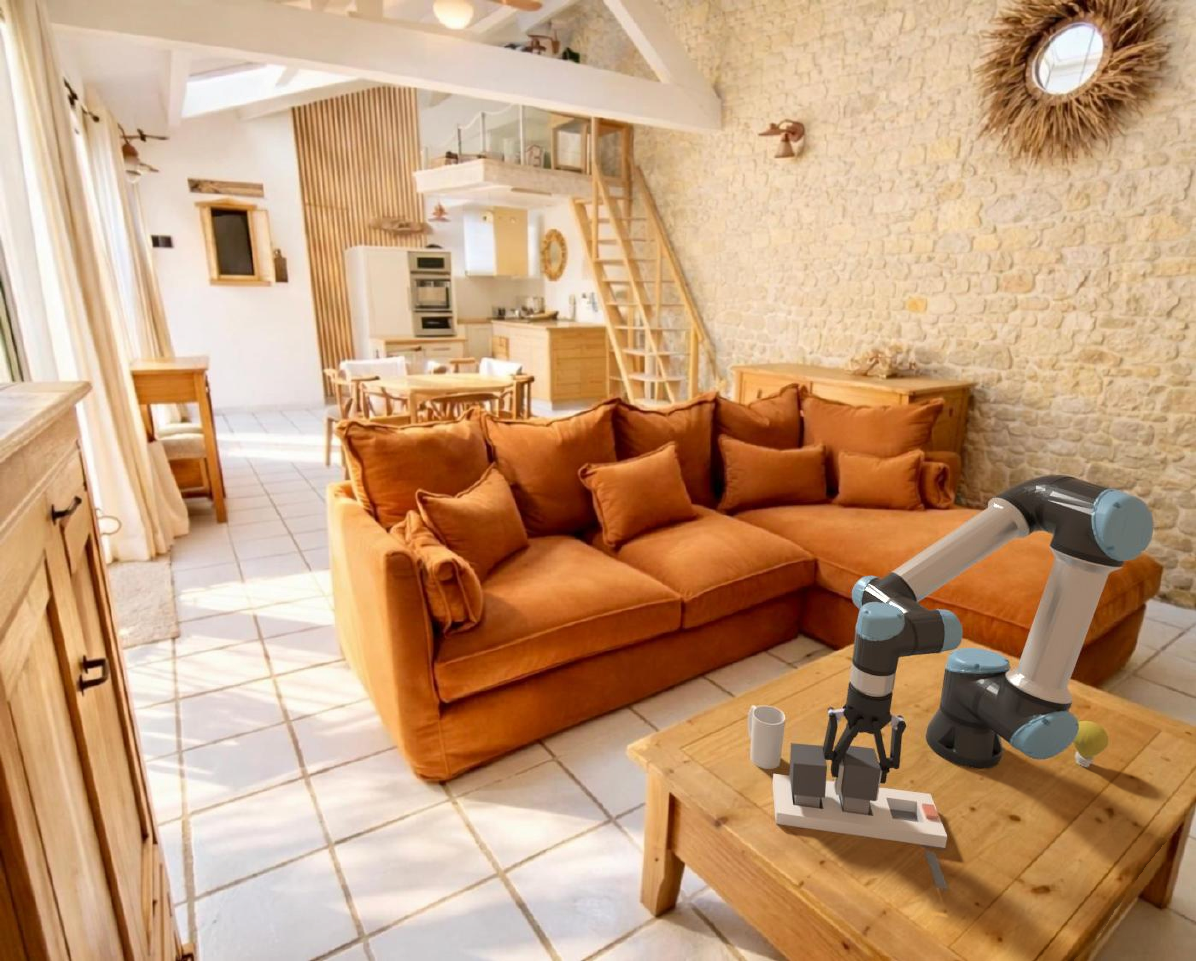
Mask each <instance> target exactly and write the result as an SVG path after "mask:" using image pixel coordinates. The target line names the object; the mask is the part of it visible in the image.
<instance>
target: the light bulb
mask: <svg viewBox="0 0 1196 961" xmlns="http://www.w3.org/2000/svg"><path fill="white" fill-rule="evenodd" d="M1078 723H1079V730H1078V734H1077V736H1076V738H1075V739H1074V741H1073V742H1072V744H1073V745H1074V748H1075V749H1076V751H1075V754H1074V758H1075V759H1076V764H1077V763H1078V764H1077V765H1079V766H1080V765H1081V766H1080V767H1083V766H1084V768H1089V767H1090V765H1091V764H1093V763H1094V757H1095V756H1097V755H1099V754H1100V753H1102V752H1103V751H1104V750H1106V749H1107V747H1108V745H1109V736H1108V733H1107V732H1106V730H1105V729H1104V728H1103V727H1102V726H1101V725H1099V724H1098V723H1096V722H1094V721H1090V720H1082V721H1078Z"/></svg>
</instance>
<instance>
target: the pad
mask: <svg viewBox="0 0 1196 961" xmlns="http://www.w3.org/2000/svg"><path fill="white" fill-rule="evenodd" d="M923 852H924V855H925V859H926V860H927V863H928V866H929V869H930V873H931V875H932V878H933V881H934V883H935V887H936V888H939V889H944V890H948V889H949V887H948V884H947V881H946V880H945V877H944V873H943V872H942V871H943V870H942V868H941V865H940V862H939V860H938V857H937V855H936V852H935V851H928V850H924V851H923Z"/></svg>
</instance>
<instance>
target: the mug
mask: <svg viewBox="0 0 1196 961" xmlns="http://www.w3.org/2000/svg"><path fill="white" fill-rule="evenodd" d="M785 724H786V715H785V713H784V712H783V711H782V710H781V709H780V708H779V707H775V706H772V705H765V704H764V705H757V706H756V705H755V704H753V705H751V706H750V709H749V712H748V713H747V730H748V732H747V733H748V737H749V739H750V751H749V752H750V754H749V755H750V756H749V757H750V758H749V759H750V761H751V763H752V764H753V765H755V766H757V767H759V768H760V769H764V770H765V769H766V770H773V769H776V768H777V767H779V766H780V763H781V759H782V758H781V757H782V750H783V749H782V748H783V741H784V734H785V726H786V725H785Z"/></svg>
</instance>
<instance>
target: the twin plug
mask: <svg viewBox="0 0 1196 961" xmlns="http://www.w3.org/2000/svg"><path fill="white" fill-rule="evenodd" d="M827 773H828V764H827V760H826V759H825V758H824V753H823V745H818V744H817V745H815V744H806V743H805V744H804V743H793V742H792V743H790V753H789V776H790V782H791V790H792V795H793V802H794V805H797V806H804V807H811V808H819V804H820V797H821V798H825V790H826V781H827V776H828V775H827Z"/></svg>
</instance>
